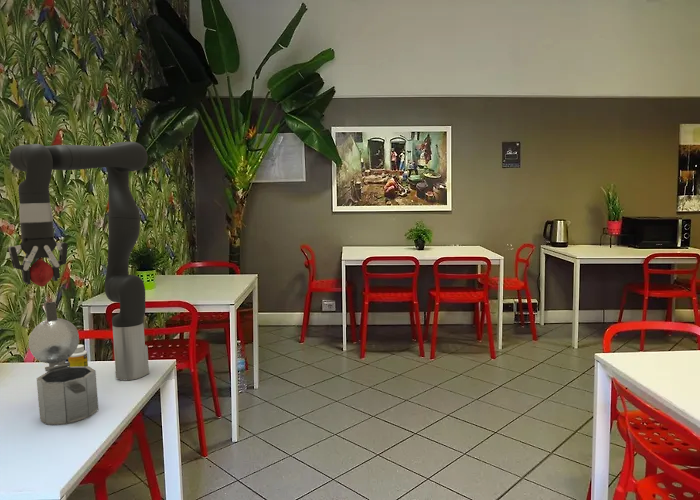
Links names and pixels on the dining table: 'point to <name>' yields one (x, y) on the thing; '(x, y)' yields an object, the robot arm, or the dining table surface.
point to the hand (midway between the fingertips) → (41, 282)
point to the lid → (53, 339)
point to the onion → (41, 272)
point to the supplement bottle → (78, 357)
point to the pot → (67, 395)
